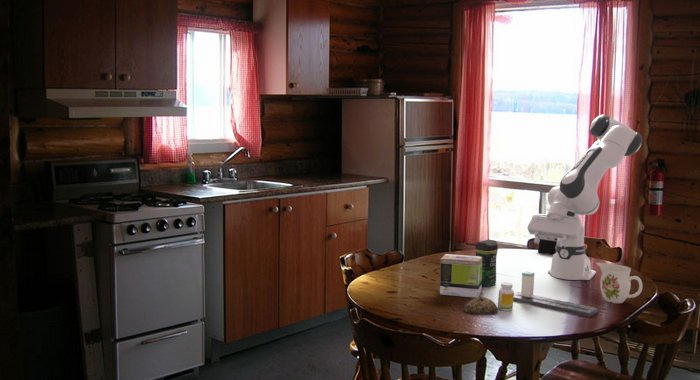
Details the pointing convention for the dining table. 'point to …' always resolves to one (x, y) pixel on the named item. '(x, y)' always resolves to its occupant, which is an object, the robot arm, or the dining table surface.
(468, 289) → the tea box
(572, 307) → the fader track
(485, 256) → the coffee jar
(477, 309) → the bread roll
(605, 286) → the pitcher
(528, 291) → the fader knob
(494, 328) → the dining table surface
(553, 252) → the camera
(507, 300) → the supplement bottle
